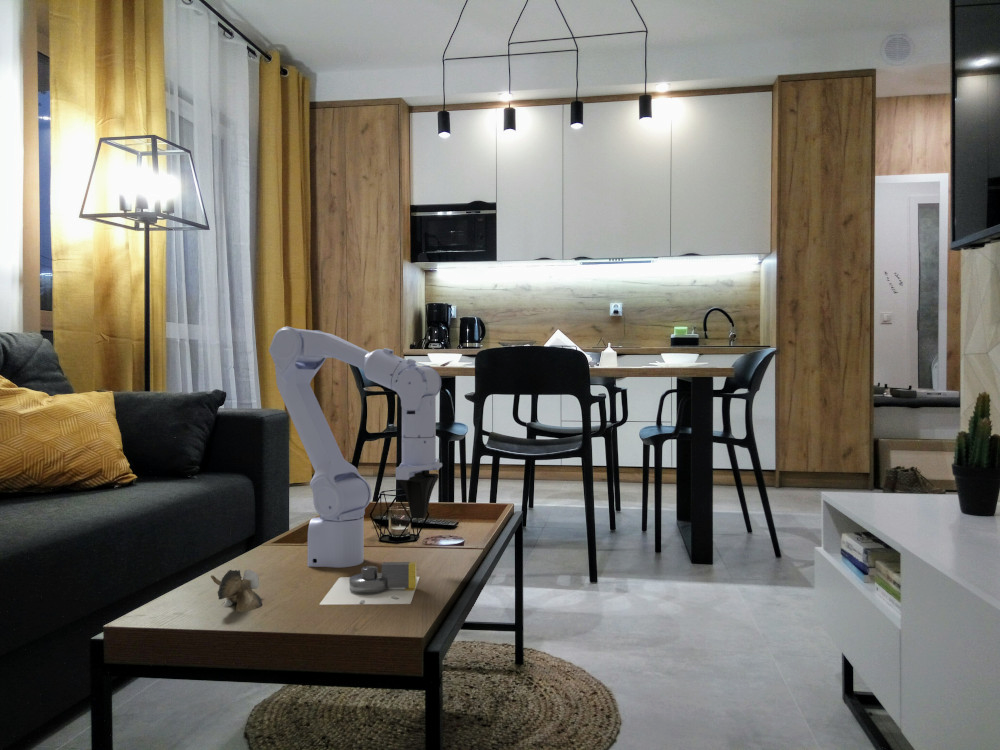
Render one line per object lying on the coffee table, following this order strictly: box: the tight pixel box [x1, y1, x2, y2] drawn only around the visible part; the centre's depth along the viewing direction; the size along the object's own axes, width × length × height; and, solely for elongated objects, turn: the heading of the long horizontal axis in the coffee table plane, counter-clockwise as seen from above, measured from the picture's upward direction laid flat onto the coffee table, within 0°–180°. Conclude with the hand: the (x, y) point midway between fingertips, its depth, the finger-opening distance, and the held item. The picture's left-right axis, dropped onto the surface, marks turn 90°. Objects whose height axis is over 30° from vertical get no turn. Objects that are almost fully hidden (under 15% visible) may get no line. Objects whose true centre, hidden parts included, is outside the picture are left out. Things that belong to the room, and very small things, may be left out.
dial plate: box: [318, 576, 420, 606], centre depth 106 cm, size 13×14×1 cm
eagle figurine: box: [210, 569, 263, 612], centre depth 99 cm, size 8×7×9 cm
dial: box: [349, 561, 418, 594], centre depth 106 cm, size 10×6×4 cm, turn 90°
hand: (418, 517), depth 117 cm, fingers closed
